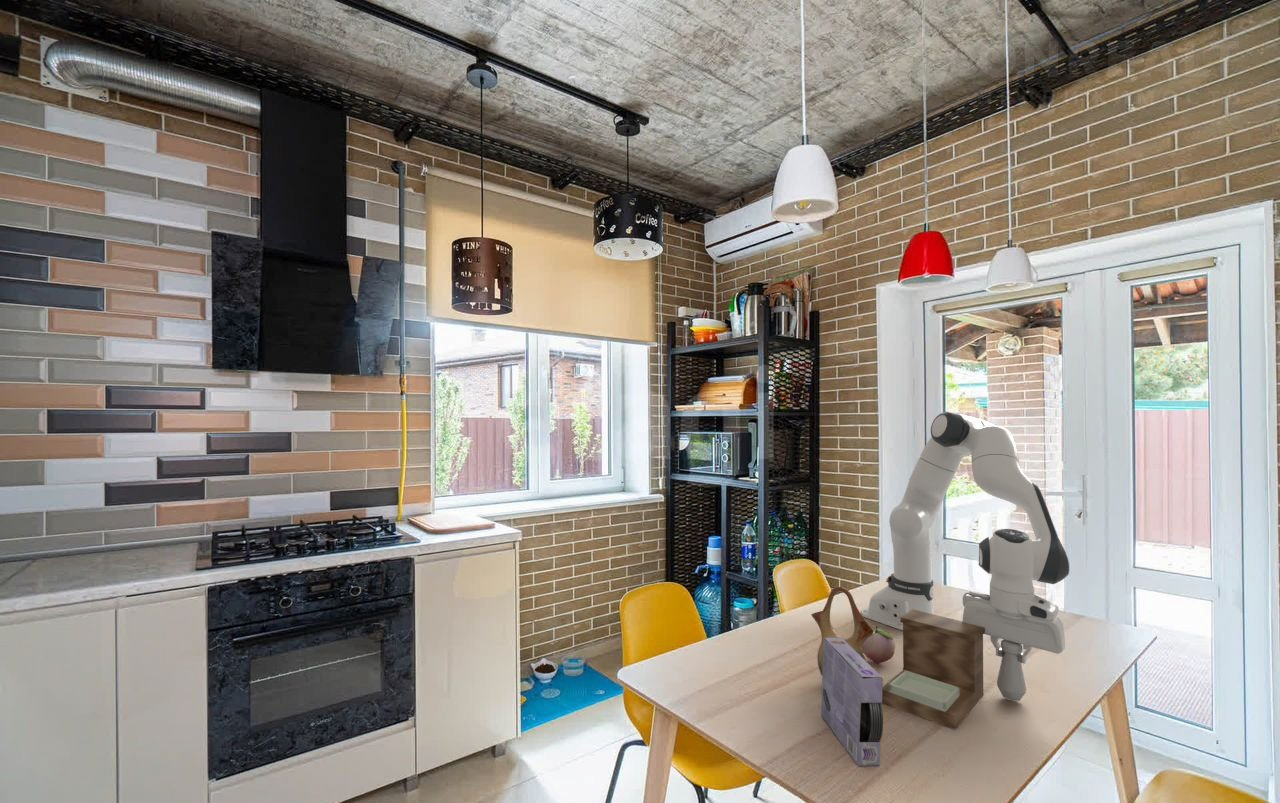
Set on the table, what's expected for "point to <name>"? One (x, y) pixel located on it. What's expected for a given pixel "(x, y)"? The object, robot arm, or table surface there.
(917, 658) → the wooden stand
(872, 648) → the decorative fruit
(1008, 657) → the salt shaker
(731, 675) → the table surface
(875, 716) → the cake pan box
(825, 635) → the ceramic vessel
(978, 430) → the robot arm
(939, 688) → the tray
